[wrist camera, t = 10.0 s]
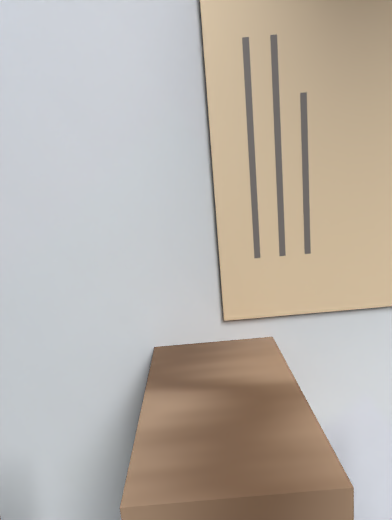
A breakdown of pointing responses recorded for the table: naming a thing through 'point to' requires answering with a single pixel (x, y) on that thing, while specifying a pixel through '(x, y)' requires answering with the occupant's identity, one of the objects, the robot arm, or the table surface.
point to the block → (230, 440)
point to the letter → (301, 153)
